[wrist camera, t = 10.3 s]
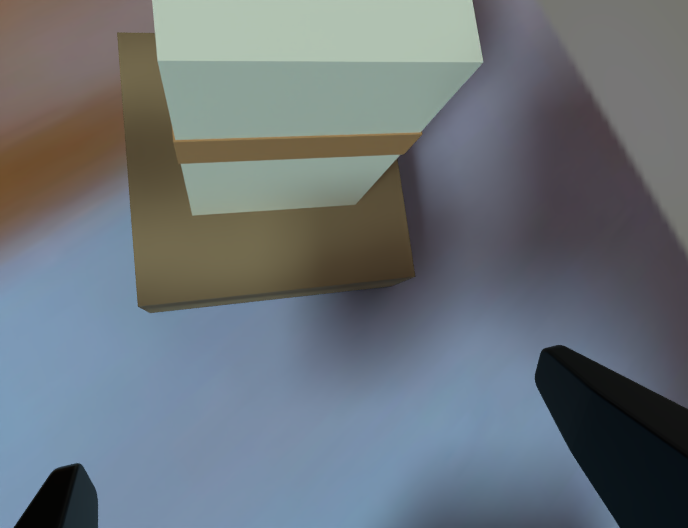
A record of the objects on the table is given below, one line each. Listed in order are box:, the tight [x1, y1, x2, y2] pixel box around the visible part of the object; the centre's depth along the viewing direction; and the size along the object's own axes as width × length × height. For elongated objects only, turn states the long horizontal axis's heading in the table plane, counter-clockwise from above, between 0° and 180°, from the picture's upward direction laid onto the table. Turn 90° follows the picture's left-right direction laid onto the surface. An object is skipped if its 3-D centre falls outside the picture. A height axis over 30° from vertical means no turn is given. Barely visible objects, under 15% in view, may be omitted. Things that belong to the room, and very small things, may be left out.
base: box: [117, 33, 415, 313], centre depth 20 cm, size 10×10×3 cm
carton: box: [152, 0, 483, 216], centre depth 14 cm, size 4×6×10 cm
